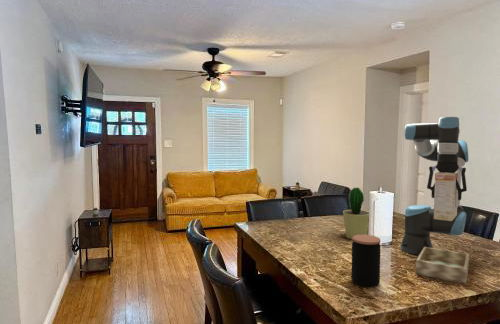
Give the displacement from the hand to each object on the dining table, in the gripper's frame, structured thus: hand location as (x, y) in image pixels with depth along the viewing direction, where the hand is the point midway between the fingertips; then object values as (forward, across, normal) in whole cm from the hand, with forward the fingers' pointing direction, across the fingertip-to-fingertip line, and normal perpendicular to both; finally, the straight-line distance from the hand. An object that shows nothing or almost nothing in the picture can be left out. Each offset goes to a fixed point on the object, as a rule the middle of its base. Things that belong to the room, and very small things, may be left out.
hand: (445, 206), depth 144 cm
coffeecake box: (+5, 0, 0) cm, 5 cm away
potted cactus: (+28, -47, +29) cm, 62 cm away
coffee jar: (+29, -24, -32) cm, 49 cm away
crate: (+28, 0, 0) cm, 28 cm away
